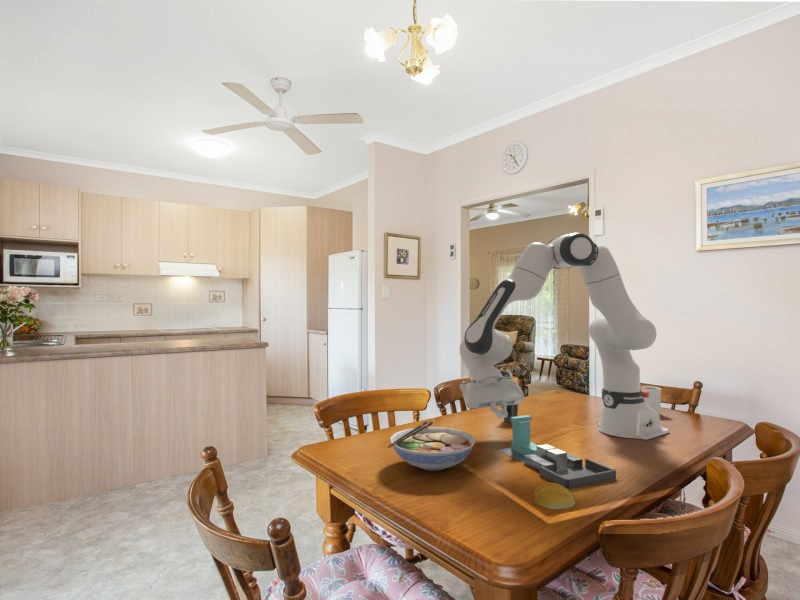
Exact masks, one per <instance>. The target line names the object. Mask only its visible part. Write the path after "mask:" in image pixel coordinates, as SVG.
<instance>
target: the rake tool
mask: <svg viewBox="0 0 800 600" xmlns="http://www.w3.org/2000/svg"><path fill="white" fill-rule="evenodd" d="M531 420H532V416H531V415H528V414H527V415H517V417H511V421H512V423H511V424H512V425H511V426H512V439H511V449H513V450H515V451H517V452H519V453H521V454H523V455H531V454H534V455H536V456H537V446H538V444H536V443H534V442H532V441H531Z"/></svg>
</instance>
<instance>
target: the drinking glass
mask: <svg viewBox="0 0 800 600" xmlns="http://www.w3.org/2000/svg"><path fill="white" fill-rule="evenodd" d="M642 391H645V392H649V393H650V396H649V398H646V397H643V398H644V402H645V403H646V404H647V405H648V406H650V407H651V408H652V409H653V410H655V411H656V412H657V413H658V414H659V416H661V405H662V404H661V403H662V402H661V400H662V388H661V387H657V386H648V385H647V386H641V392H642Z"/></svg>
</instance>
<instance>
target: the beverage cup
mask: <svg viewBox="0 0 800 600" xmlns="http://www.w3.org/2000/svg"><path fill="white" fill-rule="evenodd" d="M509 372H510V373H511V374H512V366H509ZM517 384H518V382H517ZM518 385H519V384H518ZM518 410H519V404H515V405H507V408H506V411H507V413H508V416H507V417H505V418H503V422H504V423H507V424H512V421H511V417H517V416H518Z"/></svg>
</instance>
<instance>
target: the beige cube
mask: <svg viewBox="0 0 800 600" xmlns="http://www.w3.org/2000/svg"><path fill="white" fill-rule="evenodd" d="M537 445H538V444H537ZM551 449H557V447H554V446H553V445H550V444H547V443H545V444H539V445H538V446H537V456H539V457H541V458H543V459H545V460H547V450H551Z"/></svg>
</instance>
